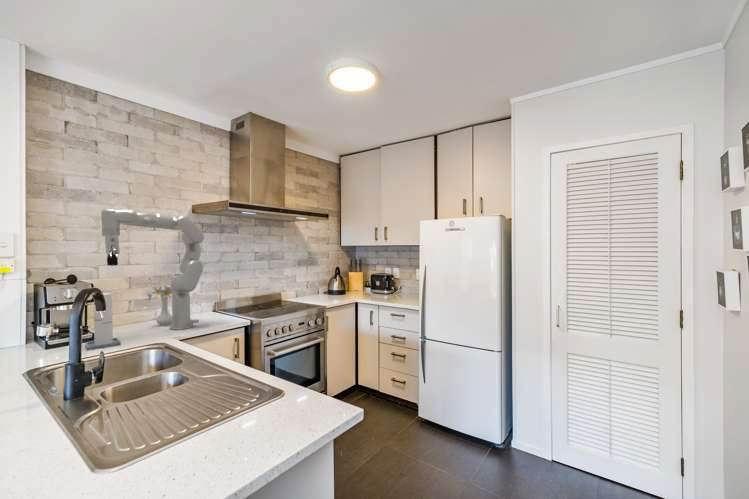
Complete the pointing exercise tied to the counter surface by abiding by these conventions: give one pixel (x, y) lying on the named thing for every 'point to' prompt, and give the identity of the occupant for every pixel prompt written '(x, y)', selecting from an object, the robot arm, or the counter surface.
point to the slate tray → (92, 345)
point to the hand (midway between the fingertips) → (112, 265)
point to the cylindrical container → (104, 323)
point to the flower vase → (163, 305)
